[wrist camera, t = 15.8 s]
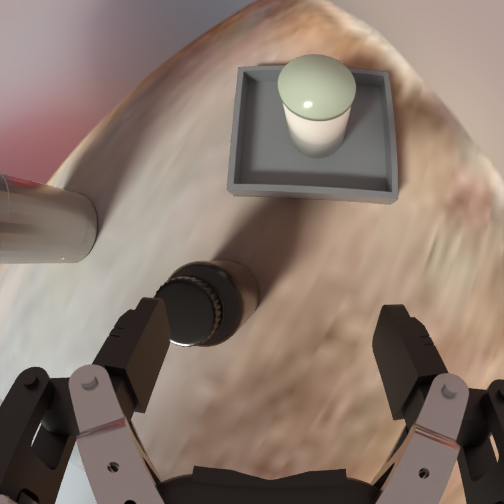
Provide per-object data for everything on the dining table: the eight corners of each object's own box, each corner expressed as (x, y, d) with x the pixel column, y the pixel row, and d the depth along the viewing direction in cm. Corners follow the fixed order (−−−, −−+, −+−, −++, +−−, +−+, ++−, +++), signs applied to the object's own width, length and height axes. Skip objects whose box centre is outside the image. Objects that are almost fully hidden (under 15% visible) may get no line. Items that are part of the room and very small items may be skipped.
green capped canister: (287, 158, 30) (275, 115, 20) (289, 108, 30) (279, 53, 20) (344, 161, 29) (357, 119, 19) (344, 111, 29) (353, 57, 19)
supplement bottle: (216, 336, 32) (166, 375, 20) (186, 279, 32) (122, 290, 21) (273, 307, 31) (249, 337, 19) (240, 247, 31) (198, 241, 20)
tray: (234, 196, 32) (226, 189, 29) (244, 80, 32) (238, 67, 29) (390, 204, 28) (398, 199, 26) (383, 85, 29) (388, 72, 26)
